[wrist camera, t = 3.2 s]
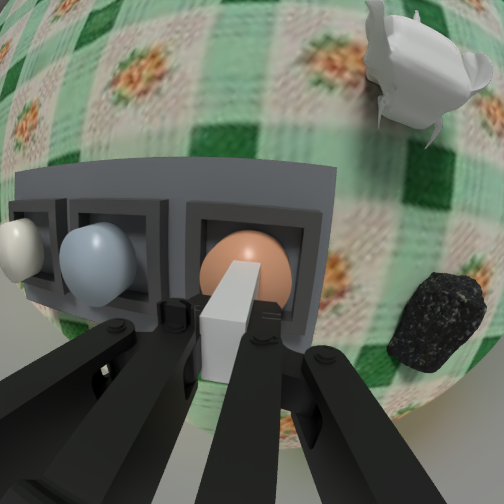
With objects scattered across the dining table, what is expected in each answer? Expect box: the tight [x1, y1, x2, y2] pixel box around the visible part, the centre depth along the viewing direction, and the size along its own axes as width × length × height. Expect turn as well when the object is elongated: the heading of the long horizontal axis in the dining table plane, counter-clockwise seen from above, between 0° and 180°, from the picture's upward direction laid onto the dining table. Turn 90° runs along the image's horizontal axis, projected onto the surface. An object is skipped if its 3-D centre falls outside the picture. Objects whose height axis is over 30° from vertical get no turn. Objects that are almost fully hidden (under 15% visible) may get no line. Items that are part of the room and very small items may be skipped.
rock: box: [387, 272, 487, 373], centre depth 19 cm, size 7×10×6 cm
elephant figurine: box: [364, 0, 493, 149], centre depth 13 cm, size 10×12×9 cm
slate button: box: [59, 222, 137, 307], centre depth 16 cm, size 5×5×2 cm
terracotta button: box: [200, 229, 292, 309], centre depth 16 cm, size 5×5×2 cm
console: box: [9, 157, 337, 354], centre depth 20 cm, size 30×14×6 cm, turn 86°
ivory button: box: [0, 218, 44, 283], centre depth 17 cm, size 5×5×2 cm
